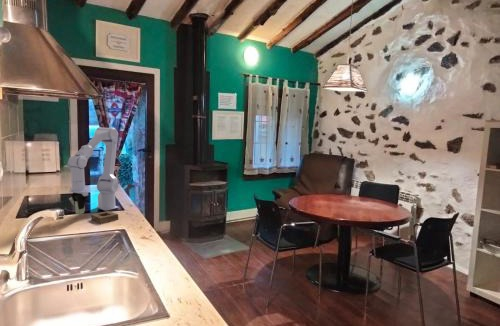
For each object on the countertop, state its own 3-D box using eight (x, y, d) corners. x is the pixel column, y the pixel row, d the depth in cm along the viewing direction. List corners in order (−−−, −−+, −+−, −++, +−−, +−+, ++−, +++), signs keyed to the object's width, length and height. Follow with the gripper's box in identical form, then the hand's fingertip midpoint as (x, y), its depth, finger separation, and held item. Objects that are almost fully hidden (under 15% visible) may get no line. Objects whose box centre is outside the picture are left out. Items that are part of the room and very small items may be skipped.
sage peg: (75, 213, 163) (74, 201, 162) (81, 211, 165) (80, 200, 164) (78, 214, 161) (77, 202, 160) (84, 213, 163) (83, 201, 162)
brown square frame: (91, 219, 163) (91, 214, 162) (108, 215, 170) (108, 210, 170) (100, 223, 157) (100, 218, 157) (118, 219, 164) (118, 214, 164)
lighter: (84, 210, 179) (83, 195, 178) (85, 210, 178) (84, 196, 176) (69, 212, 174) (68, 197, 173) (70, 213, 173) (69, 198, 172)
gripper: (62, 179, 162) (64, 207, 164) (76, 184, 153) (78, 212, 155) (77, 177, 168) (79, 204, 170) (91, 181, 159) (93, 209, 161)
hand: (79, 208), depth 163 cm, fingers closed on sage peg, 3 cm apart
